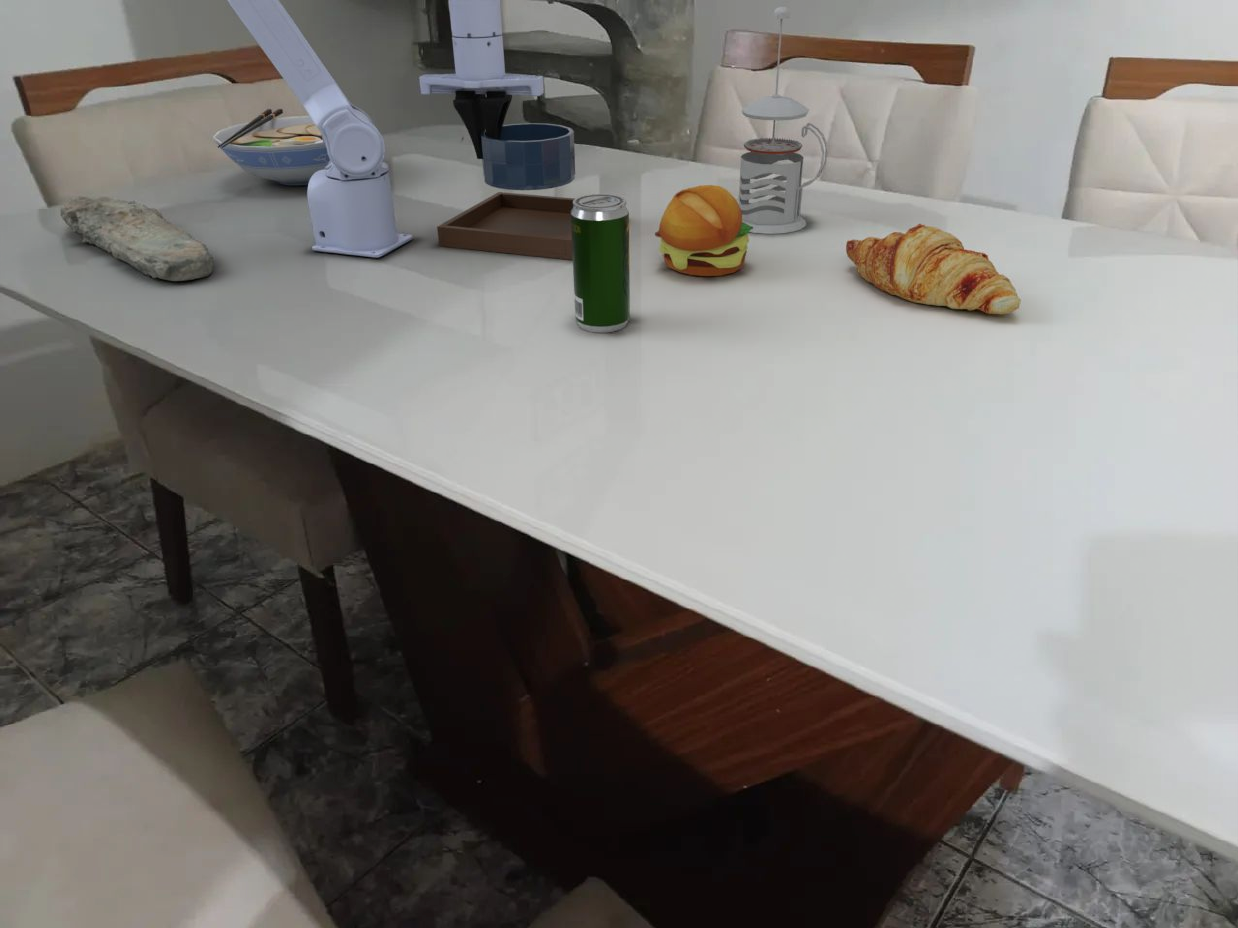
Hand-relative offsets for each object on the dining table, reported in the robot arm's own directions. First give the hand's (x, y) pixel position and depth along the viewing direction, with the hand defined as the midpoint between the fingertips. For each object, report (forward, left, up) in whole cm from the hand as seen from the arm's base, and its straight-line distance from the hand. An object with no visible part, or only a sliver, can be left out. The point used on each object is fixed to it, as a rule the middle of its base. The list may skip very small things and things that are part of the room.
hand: (487, 157), depth 114 cm
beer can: (+24, -24, -9) cm, 35 cm away
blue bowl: (+5, +1, -2) cm, 6 cm away
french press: (+33, +14, -9) cm, 37 cm away
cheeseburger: (+29, -5, -9) cm, 31 cm away
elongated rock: (-39, -19, -9) cm, 45 cm away
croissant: (+53, -6, -9) cm, 54 cm away
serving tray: (+5, +1, -9) cm, 11 cm away
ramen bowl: (-40, +15, -9) cm, 44 cm away
